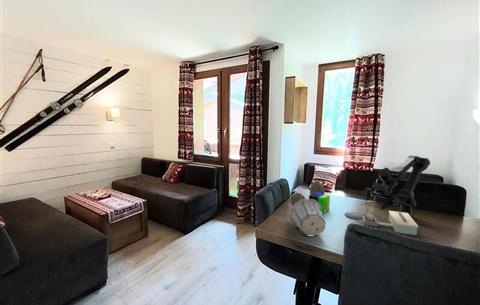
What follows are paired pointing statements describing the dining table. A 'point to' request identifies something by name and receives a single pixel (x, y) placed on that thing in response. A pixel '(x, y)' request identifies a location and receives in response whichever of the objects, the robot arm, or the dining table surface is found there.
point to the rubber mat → (353, 215)
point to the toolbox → (396, 223)
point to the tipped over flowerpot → (307, 215)
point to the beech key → (370, 210)
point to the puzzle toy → (321, 200)
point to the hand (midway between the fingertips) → (373, 207)
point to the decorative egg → (316, 188)
